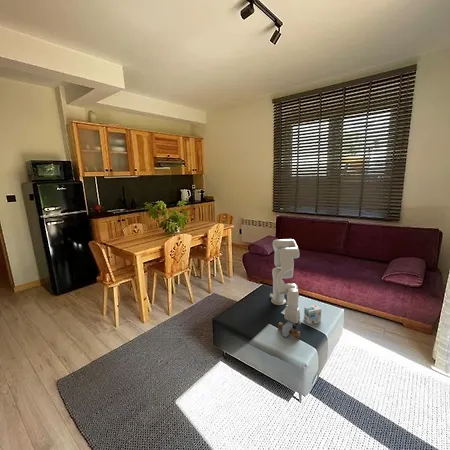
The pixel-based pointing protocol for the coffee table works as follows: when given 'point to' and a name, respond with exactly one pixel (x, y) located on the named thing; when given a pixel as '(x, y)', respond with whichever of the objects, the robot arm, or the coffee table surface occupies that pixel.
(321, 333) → the coffee table surface
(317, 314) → the light bulb box
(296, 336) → the rail
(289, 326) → the bar
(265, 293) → the coffee table surface
